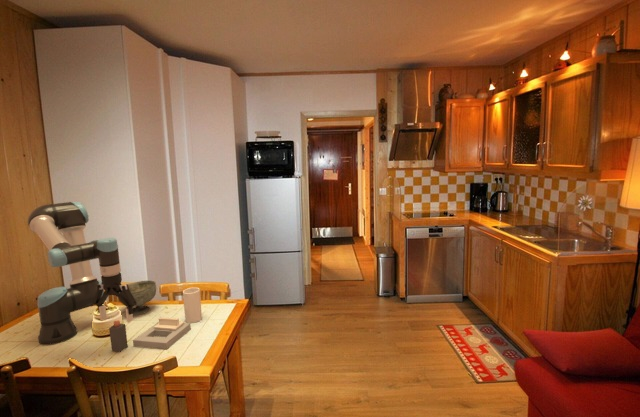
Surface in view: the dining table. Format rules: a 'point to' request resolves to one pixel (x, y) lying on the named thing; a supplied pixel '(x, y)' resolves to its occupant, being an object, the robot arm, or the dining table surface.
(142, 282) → the bowl
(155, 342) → the socket board
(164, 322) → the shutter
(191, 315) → the cup
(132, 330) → the dining table surface
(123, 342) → the dark grey bottle
